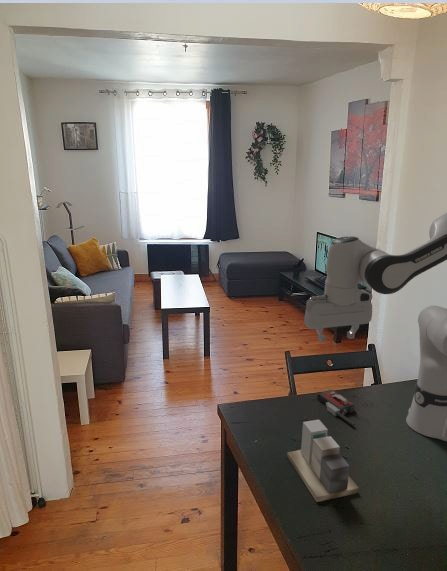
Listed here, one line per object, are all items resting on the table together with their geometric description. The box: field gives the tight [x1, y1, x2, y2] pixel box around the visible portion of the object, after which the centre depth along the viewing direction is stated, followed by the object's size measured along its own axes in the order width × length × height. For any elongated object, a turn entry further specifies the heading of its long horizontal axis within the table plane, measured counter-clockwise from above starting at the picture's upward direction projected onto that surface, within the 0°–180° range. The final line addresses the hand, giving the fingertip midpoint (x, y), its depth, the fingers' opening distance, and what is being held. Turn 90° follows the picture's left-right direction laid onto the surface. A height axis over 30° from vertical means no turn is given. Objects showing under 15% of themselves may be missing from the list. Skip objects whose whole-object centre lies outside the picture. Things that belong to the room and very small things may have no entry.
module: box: [300, 419, 329, 464], centre depth 118 cm, size 5×5×10 cm
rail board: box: [286, 435, 360, 503], centre depth 114 cm, size 12×18×11 cm, turn 16°
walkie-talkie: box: [316, 389, 356, 427], centre depth 146 cm, size 9×4×20 cm
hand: (336, 339), depth 123 cm, fingers open, 8 cm apart
